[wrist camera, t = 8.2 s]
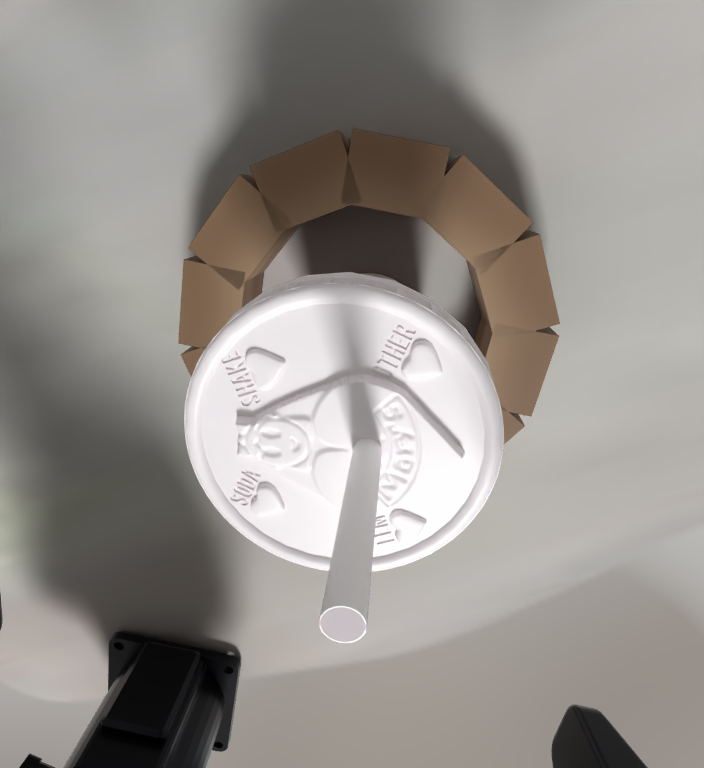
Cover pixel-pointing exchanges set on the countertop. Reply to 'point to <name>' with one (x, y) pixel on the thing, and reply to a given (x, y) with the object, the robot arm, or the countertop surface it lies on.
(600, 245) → the countertop surface
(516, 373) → the walnut ring
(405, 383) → the smoothie
